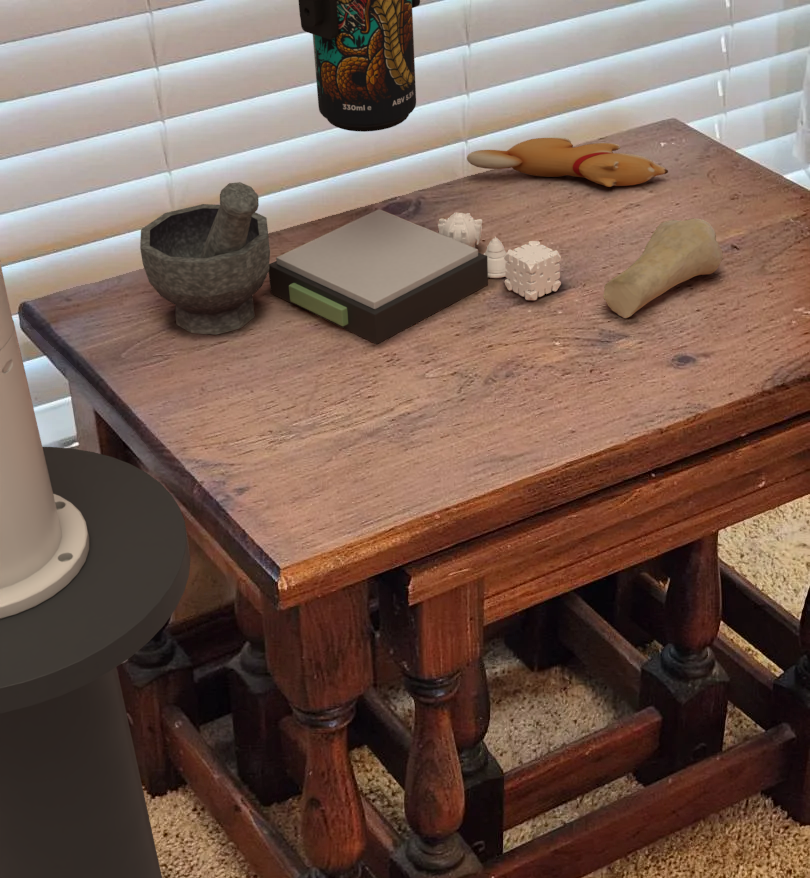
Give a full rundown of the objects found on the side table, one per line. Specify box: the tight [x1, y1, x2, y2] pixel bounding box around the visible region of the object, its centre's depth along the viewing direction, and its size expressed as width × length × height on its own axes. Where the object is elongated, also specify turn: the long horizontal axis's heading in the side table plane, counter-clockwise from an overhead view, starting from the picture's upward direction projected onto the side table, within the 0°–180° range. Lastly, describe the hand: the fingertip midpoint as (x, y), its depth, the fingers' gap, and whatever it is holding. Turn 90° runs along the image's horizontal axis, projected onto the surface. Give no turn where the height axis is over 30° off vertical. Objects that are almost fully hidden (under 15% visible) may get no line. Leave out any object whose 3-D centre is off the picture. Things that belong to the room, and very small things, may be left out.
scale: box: [268, 208, 489, 345], centre depth 120 cm, size 12×12×3 cm
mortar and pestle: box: [139, 181, 271, 336], centre depth 115 cm, size 11×9×12 cm
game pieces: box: [437, 212, 562, 301], centre depth 121 cm, size 12×3×3 cm, turn 37°
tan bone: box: [602, 217, 724, 319], centre depth 117 cm, size 11×6×5 cm, turn 150°
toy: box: [466, 137, 669, 188], centre depth 134 cm, size 3×17×5 cm
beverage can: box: [312, 0, 417, 133], centre depth 109 cm, size 7×7×12 cm
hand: (361, 16), depth 108 cm, fingers closed on beverage can, 7 cm apart
